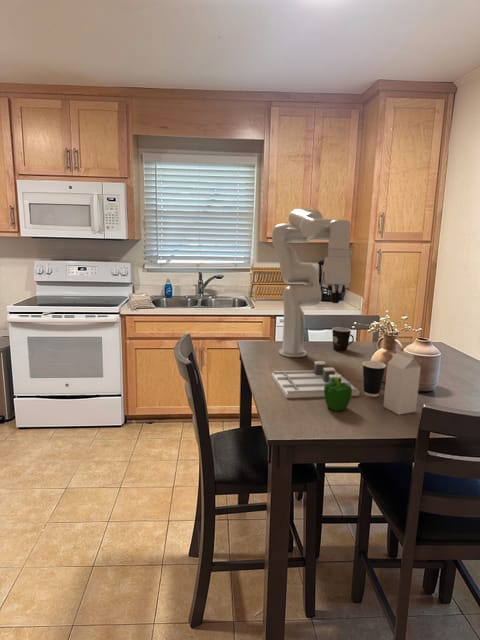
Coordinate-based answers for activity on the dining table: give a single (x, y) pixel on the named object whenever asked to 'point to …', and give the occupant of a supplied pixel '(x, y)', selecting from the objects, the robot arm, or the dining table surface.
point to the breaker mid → (327, 373)
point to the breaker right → (336, 377)
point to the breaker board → (304, 383)
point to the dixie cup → (372, 377)
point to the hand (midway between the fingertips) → (334, 302)
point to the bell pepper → (337, 395)
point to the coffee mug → (341, 338)
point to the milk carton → (402, 383)
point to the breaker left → (319, 367)
